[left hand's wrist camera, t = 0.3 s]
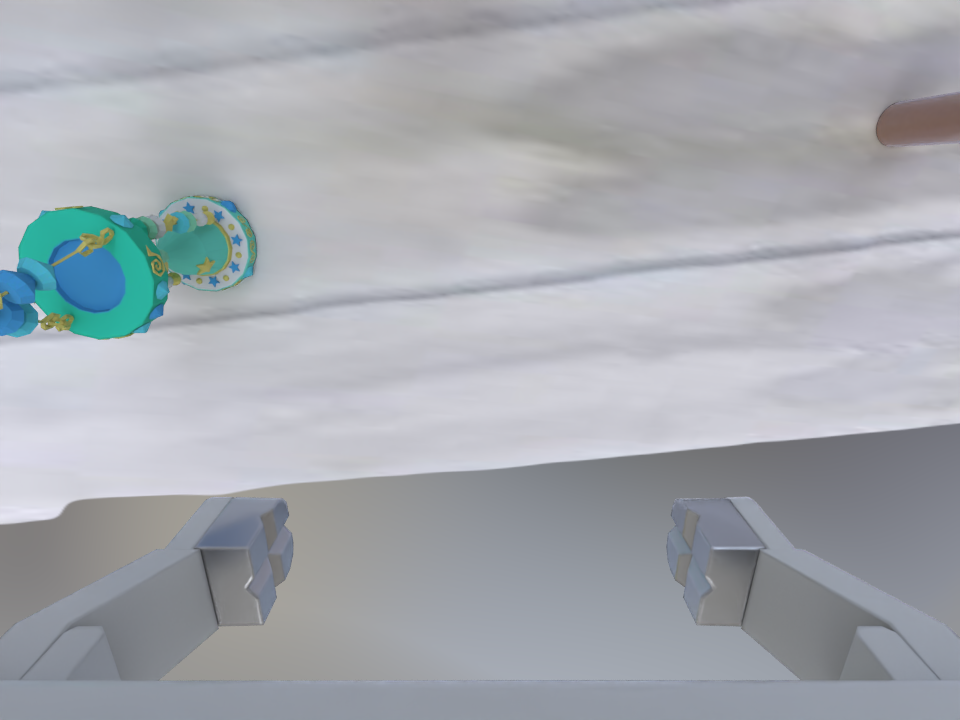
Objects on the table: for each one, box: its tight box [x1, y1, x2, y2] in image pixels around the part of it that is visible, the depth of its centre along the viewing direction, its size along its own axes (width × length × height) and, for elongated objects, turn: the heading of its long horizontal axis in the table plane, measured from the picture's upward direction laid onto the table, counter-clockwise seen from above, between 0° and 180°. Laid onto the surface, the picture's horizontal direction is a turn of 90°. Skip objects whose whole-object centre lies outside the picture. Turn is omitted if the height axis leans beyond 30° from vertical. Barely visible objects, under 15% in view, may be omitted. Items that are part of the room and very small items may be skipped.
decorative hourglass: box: [0, 195, 257, 340], centre depth 42 cm, size 11×11×30 cm
